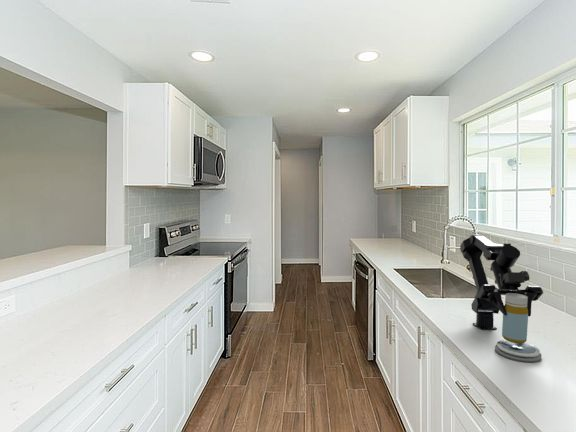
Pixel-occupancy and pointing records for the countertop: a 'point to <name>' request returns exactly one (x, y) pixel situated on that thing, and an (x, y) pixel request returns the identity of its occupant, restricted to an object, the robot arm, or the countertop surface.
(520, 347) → the platter
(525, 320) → the bottle
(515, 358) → the turntable base
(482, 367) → the countertop surface
